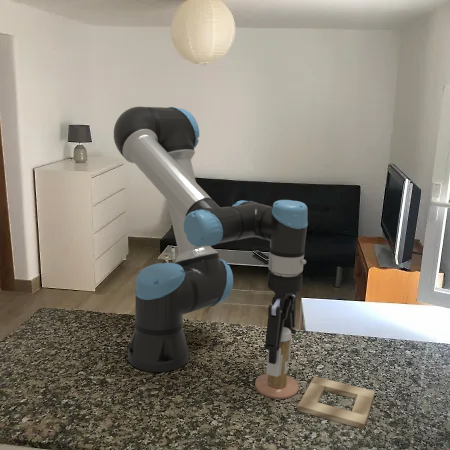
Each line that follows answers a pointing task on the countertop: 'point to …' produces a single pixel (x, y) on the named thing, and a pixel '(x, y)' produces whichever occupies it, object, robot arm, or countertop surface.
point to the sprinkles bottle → (282, 361)
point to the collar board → (332, 413)
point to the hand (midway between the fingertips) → (278, 366)
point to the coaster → (276, 393)
